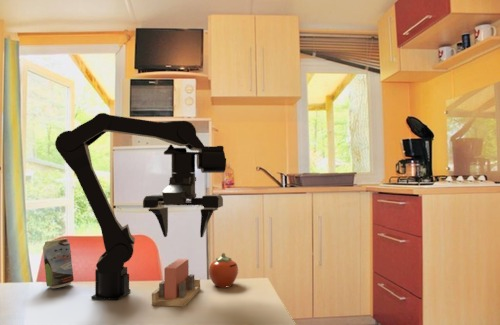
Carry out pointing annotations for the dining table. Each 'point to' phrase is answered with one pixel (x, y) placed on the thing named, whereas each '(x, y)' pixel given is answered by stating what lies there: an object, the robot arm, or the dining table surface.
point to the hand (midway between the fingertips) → (183, 236)
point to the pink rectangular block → (175, 277)
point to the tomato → (223, 271)
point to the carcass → (184, 293)
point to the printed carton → (58, 263)
